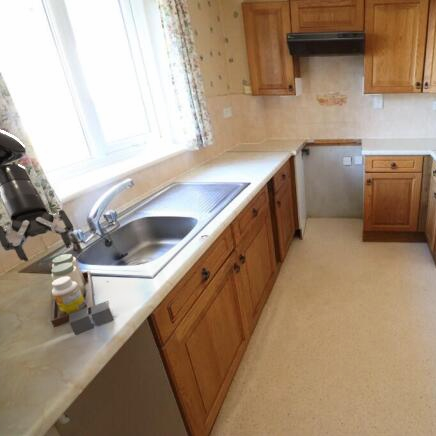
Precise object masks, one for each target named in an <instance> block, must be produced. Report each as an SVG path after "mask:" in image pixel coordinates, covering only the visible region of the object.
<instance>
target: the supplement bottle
mask: <svg viewBox="0 0 436 436" xmlns="http://www.w3.org/2000/svg"><path fill="white" fill-rule="evenodd" d="M51 286H52V289H51V295H52V298H53V297H54V298H55V300H56V302H57V304H58V306H59V308H60V310H61V312H62V314H63V315H67V314H69V313H72V312H75V311H78V310H81V309H84V308H86V302H85V300H84V298H83V296H82V293H81V291H80V289H79V287H78V285H77V283H76V282H74V281H72V280H71V278H70V277H68V276H65V277H61V278H58V279H56V280H54V281H52V282H51Z"/></svg>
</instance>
